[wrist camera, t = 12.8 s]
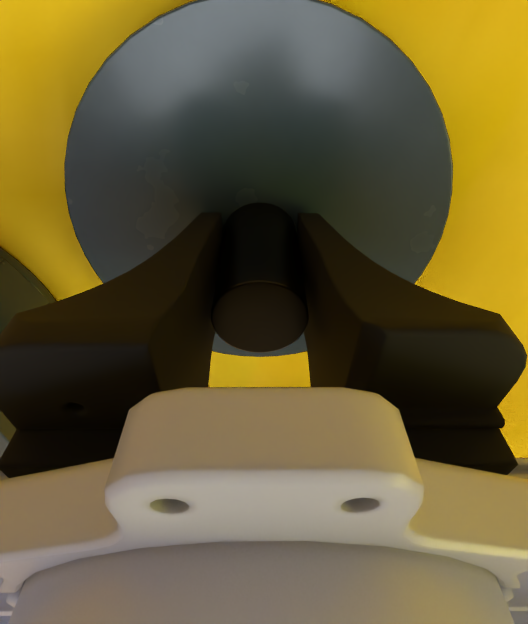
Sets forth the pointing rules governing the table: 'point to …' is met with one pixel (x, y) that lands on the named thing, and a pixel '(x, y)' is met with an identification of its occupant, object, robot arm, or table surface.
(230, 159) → the lid
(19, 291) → the tin
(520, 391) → the table surface
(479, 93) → the table surface
